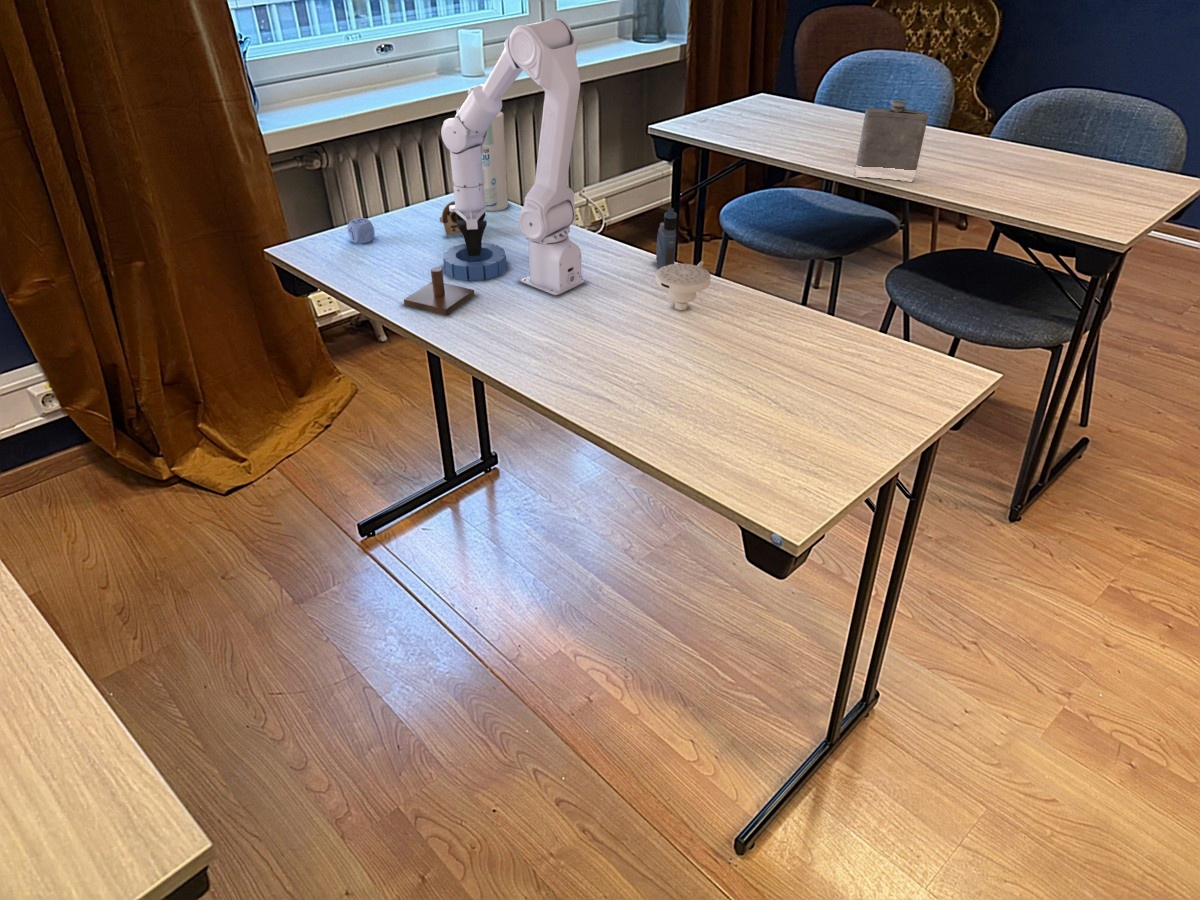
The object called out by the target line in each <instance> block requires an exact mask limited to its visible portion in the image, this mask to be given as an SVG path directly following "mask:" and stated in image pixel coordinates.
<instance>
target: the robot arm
mask: <svg viewBox="0 0 1200 900" xmlns="http://www.w3.org/2000/svg"><path fill="white" fill-rule="evenodd" d="M578 43H579V40H578V37H577V36H576V34H575V33H574V31H573V30H572V28H571V27H570V25H569V23H568V22H566V21H565V20H564V19H562V18H560V17H552V18H549V19H548V20H543V21H539V22H535V23H530V24H519V25H517V26H515V27H514V28H513V30H512V31H511V33H510V35H509V36H508V37H507V38H506V39H505V41H504V43H503V44H504V49H503V51H502V53H501V55H500V57H499V58H498V60H497V62H496V64H495V65H494V67H493V68H492V70H491V72H490V74H489V76H488V77H487V79H486V81H485V83H484V84H477V85H475V86H472V87H470V88H469V89H468V91H467V94H468V96H467V98H465V101H464V102H463V104H462V105H461V106H460V107H458V108H457V109H456V114H455V116H454V117H450V118H447V119H445V120H443V124H442V125H441V129H440V130H441V132H440V134H441V139H442V142H443V144H444V146H445V147H446V149H447V150H449V155H450V168H451V177H452V178H451V179H452V186H453V187H452V189H453V197H454V201H455V205H450V206H449V211H450V212H456V215H457V218H458V219H459V220H457V226H458V228H459V230H460V231H461V233H460V234H461V235H462V237H463V240H464V244H466V247H467V251H468V254H469V256H479V255H480V252H481V243H483V236H484V233H485V231H486V228H487V224H488V222H487V220H484V219H485V217H486V211H488V210H487V206H486V204H485V194H484V181H483V167H482V154H483V153H484V151H483V146H484V143H485V142H486V139H487V131H486V130H487V129H488V127H489V126H490V124H491V123H492V122H493V120H494V119H495V117H496V116H497V115H498V113H499V112H501V111H502V109H503V101H502V97H503V96H504V95H505V93H506V92H507V91H508V90H509V89H510V88H511V86H513V83H514V82H515V81H516V80H517V78H519V76H520V75H521V74H522V72H524V73H525V74H526V75H527V76H528V77H530V79H532V81H533V82H534V83H536V85H538V86H539V87H541V88H542V89H543V91H544V99H543V109H542V117H541V126H540V135H539V144H538V152H537V153H538V154H537V163H536V170H535V181H534V184H533V185H532V187H531V188H530V189H529V191H528V192H527V193H526V195H525V197H524V202H523V203H524V204H523V206H522V208H521V210H520V211H519V214H518V219H517V220H518V225H519V228H520V231H521V233H522V234H523V235H524V236H525V239H526V240H527V241H528V262H529V274H528V275H525V276H524V277H521V278H520V279H519V281H520V282H521V283H523V284H525V285H528V286H529V287H533V288H535V289H538V290H540V291H543V292H545V293H548V294H550V295H553V296H560V295H562V294H563V293H565V292H567V291H569V290H572V289H574V288H576V287H578V286H580V285H582V284H584V283H585V279H583V278H582V250H581V248H580V247H579V245H578V244H577V243H575V242H573V241H572V240H571V239H570V236H569V233H570V232H571V230H570V229H571V228H570V226H572V225H573V224H574V222H575V220H576V216H577V210H576V206H575V201H574V200H575V192H574V191H573V189H572V188H571V187H570V186H568V185H567V184H568V177H569V169H570V162H571V155H572V150H573V149H572V148H573V141H574V135H575V126H576V119H577V114H578V112H577V111H578V105H579V99H580V90H581V80H580V79H581V78H580V73H579V67H578V61H577V49H578Z"/></svg>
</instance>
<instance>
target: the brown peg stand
mask: <svg viewBox="0 0 1200 900" xmlns="http://www.w3.org/2000/svg"><path fill="white" fill-rule="evenodd" d="M430 276H431V281H430V282H429V283H427V284H425V285H424V286H422V287H421V288H419V289H417V290H416V291H414V292H413V293H412V294H410V295H409V296H407V297H406V298H404V299H403V304H404V306H405V307H409V308H413V309H417V310H421V311H426V312H431V313H434V314H438V315H442V316H449V314H451V313H453V312H455V310H457V309H458V308H460V306H462V305H464V304H465V303H467V302H468V301H470V300H471V299H473V298H474V297H475V289H472V288H467V287H462V286H459V285H454V284H451V283H446V282H445V281H444V273H443V268H442V267H438V266H436V267H432V268H431V269H430Z"/></svg>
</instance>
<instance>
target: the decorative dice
mask: <svg viewBox="0 0 1200 900" xmlns="http://www.w3.org/2000/svg"><path fill="white" fill-rule="evenodd" d="M347 233H348V237H349V238H350V240H351V241H352V242H353V243H355V244H360V245H361V244H367V243H370V242H371V241H372V240H373V239H374V237H375V234H376V233H375V227H374V225H373V223H372V221H371V220H370V219H368V218H366V217H357V218H353V219H351V220H350V221H349V222H348V224H347Z"/></svg>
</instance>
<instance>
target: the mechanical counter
mask: <svg viewBox="0 0 1200 900" xmlns="http://www.w3.org/2000/svg"><path fill="white" fill-rule="evenodd" d="M450 205H455V200H453V201H450V202H448V203H447V204H446V205H445V206H444V208H443V210H442V211H441V212H442V213H441V216H440V217H439V222H440V223H442V224H443V226H444V228H443V229H444V232H445V235H446V236H453V235H458V234H462V233H461V231H460V230H459V228H458V226H457V220H459V219H458V218H457V215H456V212H450V211H449V206H450Z"/></svg>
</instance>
